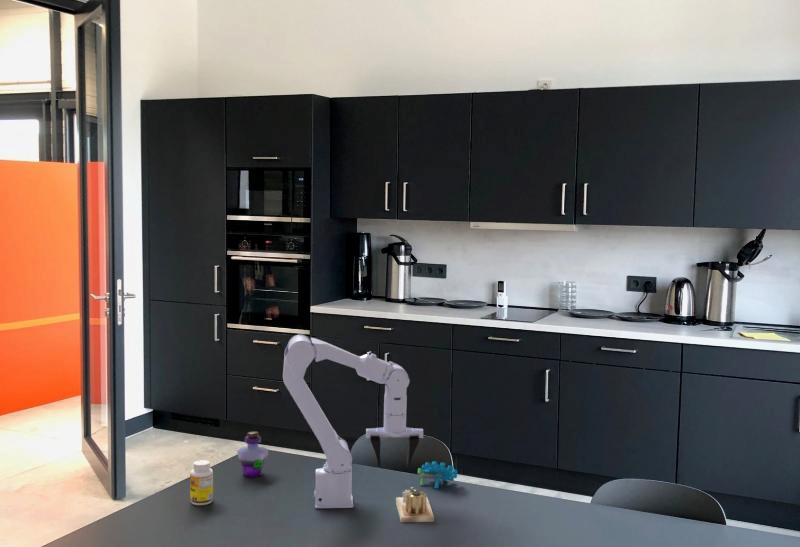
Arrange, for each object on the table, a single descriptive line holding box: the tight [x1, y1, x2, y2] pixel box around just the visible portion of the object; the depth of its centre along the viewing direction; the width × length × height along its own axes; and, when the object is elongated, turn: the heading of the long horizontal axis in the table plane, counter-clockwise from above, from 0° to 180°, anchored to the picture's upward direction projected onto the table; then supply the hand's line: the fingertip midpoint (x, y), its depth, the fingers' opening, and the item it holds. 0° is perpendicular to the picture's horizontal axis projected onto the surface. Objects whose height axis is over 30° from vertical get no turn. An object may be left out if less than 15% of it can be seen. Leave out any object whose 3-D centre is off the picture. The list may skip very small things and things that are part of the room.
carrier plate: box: [395, 496, 435, 523], centre depth 195 cm, size 8×13×1 cm, turn 6°
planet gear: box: [406, 487, 428, 514], centre depth 192 cm, size 5×5×5 cm
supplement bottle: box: [189, 459, 214, 506], centre depth 198 cm, size 6×6×10 cm
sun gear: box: [402, 486, 417, 503], centre depth 199 cm, size 5×5×3 cm
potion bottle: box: [236, 431, 269, 479], centre depth 219 cm, size 9×9×12 cm
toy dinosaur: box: [417, 460, 458, 490], centre depth 213 cm, size 11×6×10 cm
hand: (393, 464), depth 202 cm, fingers open, 7 cm apart
